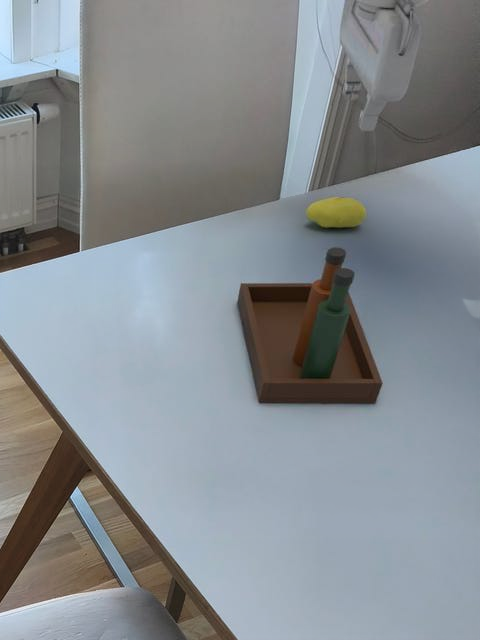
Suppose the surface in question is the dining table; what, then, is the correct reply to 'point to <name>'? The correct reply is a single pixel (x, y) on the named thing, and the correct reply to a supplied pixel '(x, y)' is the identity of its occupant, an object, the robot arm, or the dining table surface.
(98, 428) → the dining table surface
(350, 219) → the lemon
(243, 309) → the tray
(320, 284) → the amber bottle
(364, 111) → the robot arm
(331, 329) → the green bottle
